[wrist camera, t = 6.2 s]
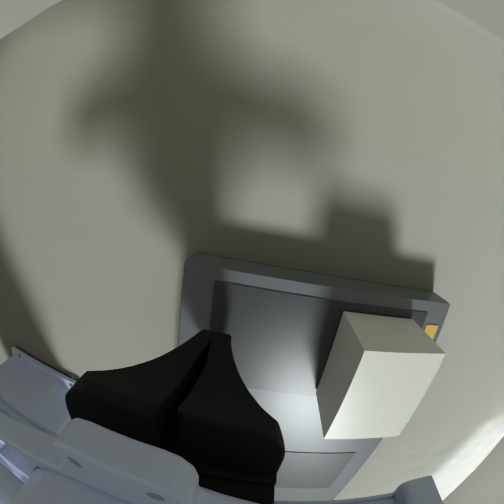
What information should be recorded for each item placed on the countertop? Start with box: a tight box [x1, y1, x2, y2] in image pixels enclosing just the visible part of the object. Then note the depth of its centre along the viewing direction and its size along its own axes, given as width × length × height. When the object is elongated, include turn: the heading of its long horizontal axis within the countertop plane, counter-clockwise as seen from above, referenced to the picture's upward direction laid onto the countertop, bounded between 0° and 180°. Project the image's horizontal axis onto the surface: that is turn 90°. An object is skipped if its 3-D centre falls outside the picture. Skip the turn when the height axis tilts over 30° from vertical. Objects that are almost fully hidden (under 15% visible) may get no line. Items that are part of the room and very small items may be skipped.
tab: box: [316, 311, 445, 439], centre depth 11 cm, size 4×5×4 cm
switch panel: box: [179, 252, 450, 501], centre depth 16 cm, size 14×30×2 cm, turn 171°
